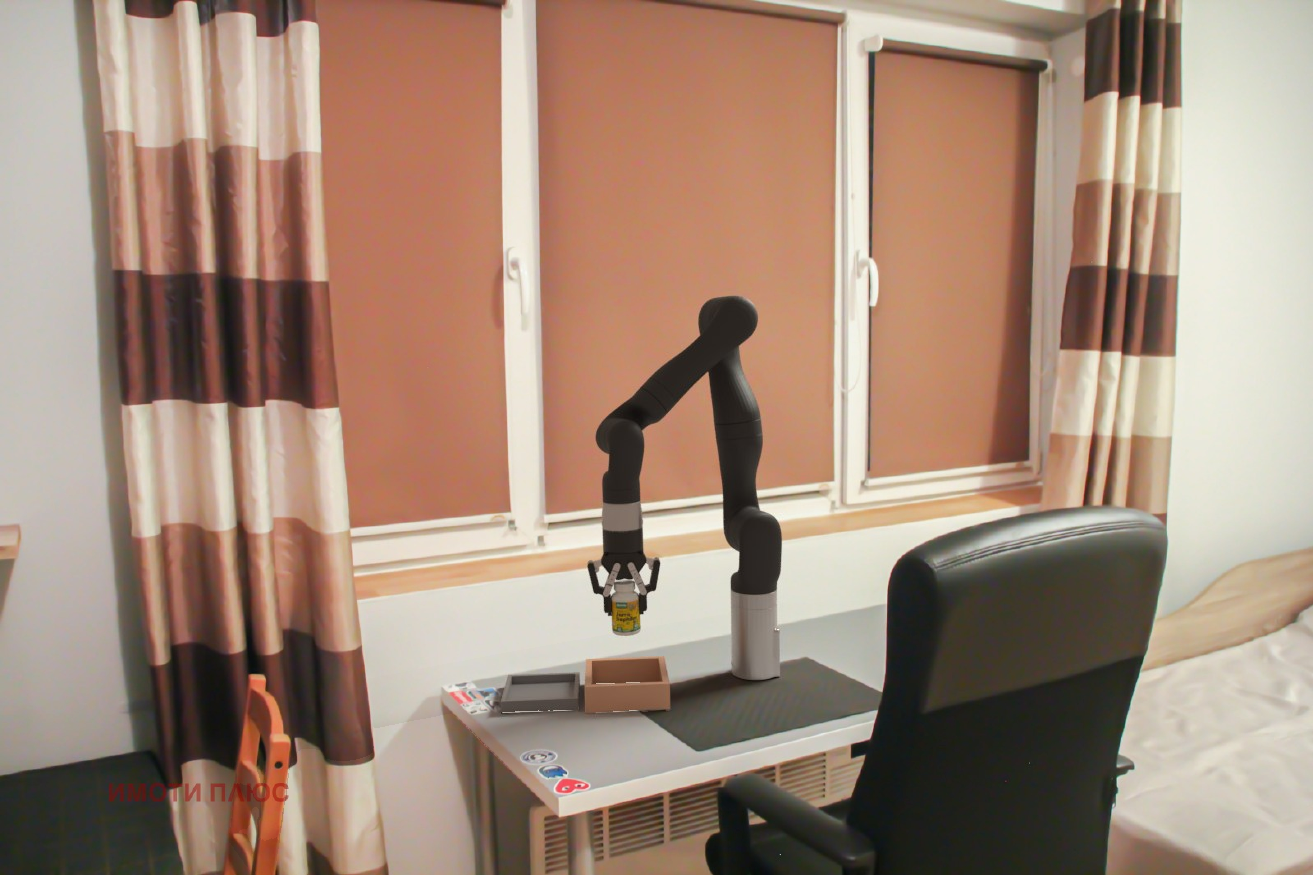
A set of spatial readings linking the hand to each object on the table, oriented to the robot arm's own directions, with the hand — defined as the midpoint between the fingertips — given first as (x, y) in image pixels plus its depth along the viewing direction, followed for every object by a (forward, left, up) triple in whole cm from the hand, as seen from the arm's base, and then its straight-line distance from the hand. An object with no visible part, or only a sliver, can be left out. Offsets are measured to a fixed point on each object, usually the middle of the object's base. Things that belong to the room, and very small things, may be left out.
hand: (625, 613), depth 179 cm
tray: (+16, -1, -16) cm, 23 cm away
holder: (0, 0, -16) cm, 16 cm away
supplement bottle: (0, 0, -4) cm, 4 cm away
